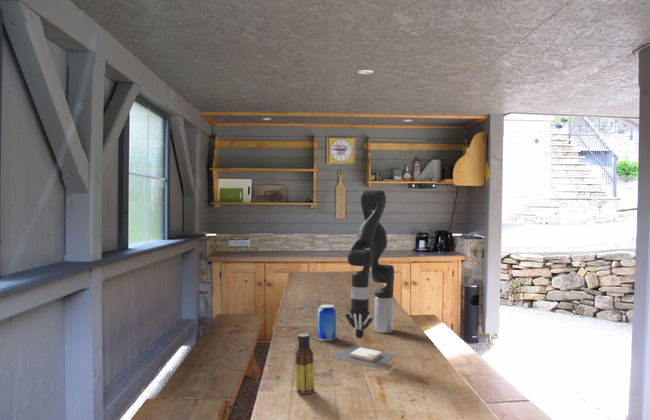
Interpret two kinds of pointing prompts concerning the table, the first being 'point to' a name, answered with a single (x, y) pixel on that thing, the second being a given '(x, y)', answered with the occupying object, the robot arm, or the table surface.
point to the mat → (377, 363)
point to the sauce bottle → (304, 366)
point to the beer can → (326, 322)
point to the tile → (365, 354)
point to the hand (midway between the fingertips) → (359, 337)
